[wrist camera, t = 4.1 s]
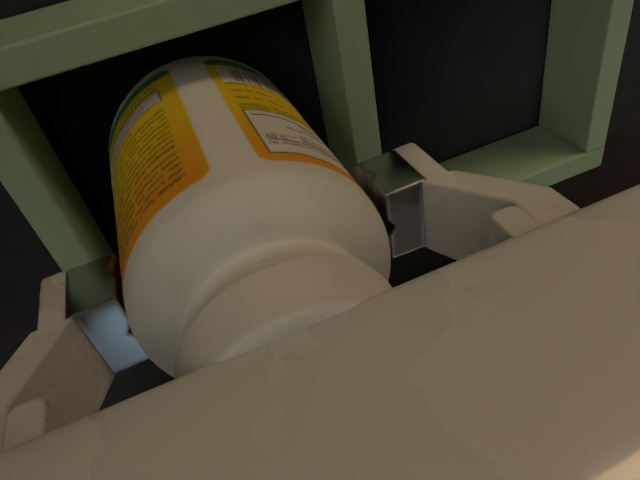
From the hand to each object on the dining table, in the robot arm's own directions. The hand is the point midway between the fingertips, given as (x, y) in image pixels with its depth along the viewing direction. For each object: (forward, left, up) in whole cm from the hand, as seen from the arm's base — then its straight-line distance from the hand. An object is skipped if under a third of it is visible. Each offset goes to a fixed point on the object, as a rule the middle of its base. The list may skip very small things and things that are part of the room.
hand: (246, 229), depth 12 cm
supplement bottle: (0, 0, -5) cm, 5 cm away
